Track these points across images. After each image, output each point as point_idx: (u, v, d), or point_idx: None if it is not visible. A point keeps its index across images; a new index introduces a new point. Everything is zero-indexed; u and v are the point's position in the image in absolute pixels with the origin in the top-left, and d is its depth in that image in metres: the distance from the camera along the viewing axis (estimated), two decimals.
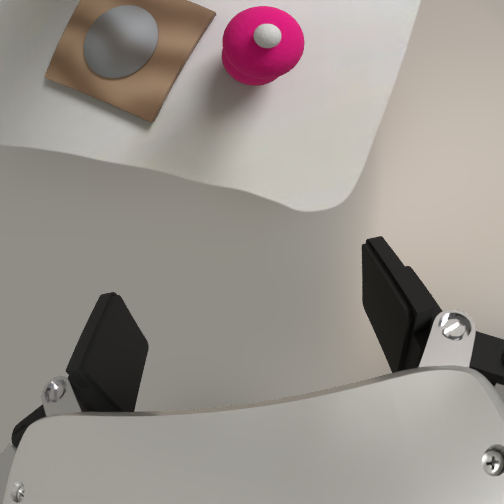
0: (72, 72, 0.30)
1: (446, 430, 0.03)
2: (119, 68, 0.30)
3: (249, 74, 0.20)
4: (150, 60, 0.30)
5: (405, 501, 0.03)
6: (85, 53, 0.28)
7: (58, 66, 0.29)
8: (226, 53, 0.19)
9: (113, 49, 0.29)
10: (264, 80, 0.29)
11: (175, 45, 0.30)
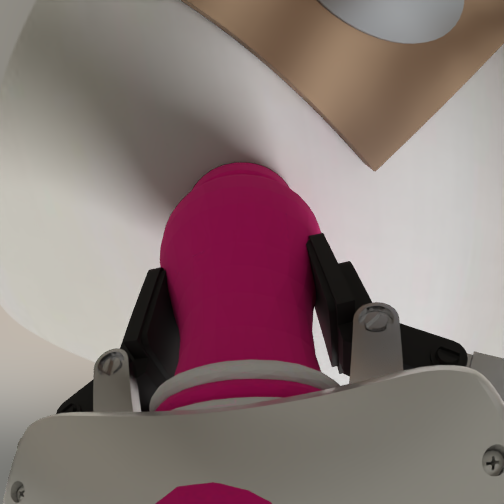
0: None
1: (446, 430, 0.03)
2: None
3: None
4: None
5: (405, 501, 0.03)
6: None
7: None
8: None
9: None
10: None
11: (325, 59, 0.12)
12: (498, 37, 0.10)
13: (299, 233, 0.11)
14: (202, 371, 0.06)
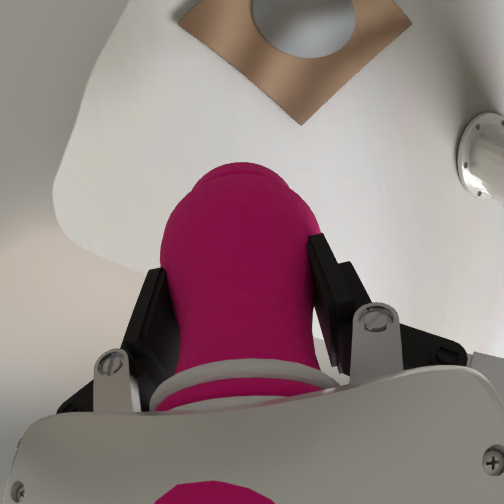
0: None
1: (446, 430, 0.03)
2: (266, 1, 0.22)
3: None
4: (261, 38, 0.24)
5: (405, 501, 0.03)
6: None
7: None
8: None
9: (296, 2, 0.22)
10: None
11: (271, 70, 0.26)
12: (382, 43, 0.24)
13: (298, 233, 0.11)
14: (202, 370, 0.06)
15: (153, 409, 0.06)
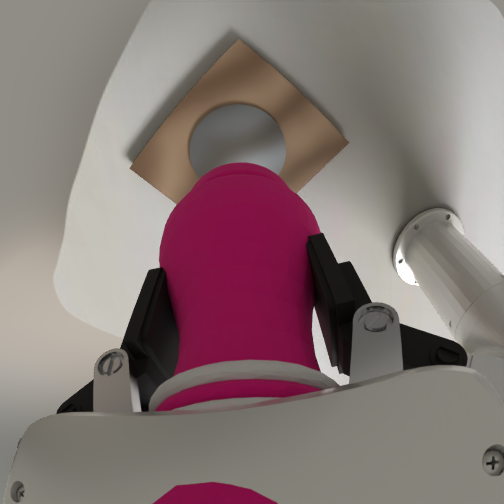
0: (224, 80, 0.27)
1: (446, 430, 0.03)
2: (201, 145, 0.30)
3: None
4: None
5: (405, 501, 0.03)
6: (240, 106, 0.29)
7: (243, 63, 0.27)
8: None
9: (229, 143, 0.30)
10: None
11: None
12: (313, 170, 0.33)
13: (298, 233, 0.11)
14: (201, 371, 0.06)
15: (152, 410, 0.06)
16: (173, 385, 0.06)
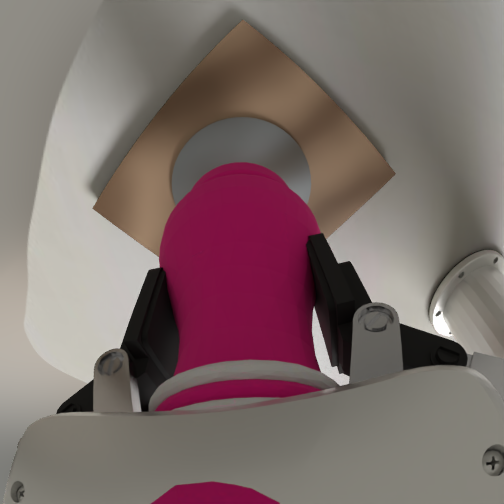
0: (221, 81, 0.18)
1: (446, 430, 0.03)
2: (188, 178, 0.21)
3: None
4: None
5: (405, 501, 0.03)
6: (245, 120, 0.19)
7: (249, 55, 0.17)
8: None
9: None
10: None
11: None
12: (346, 212, 0.24)
13: (298, 233, 0.11)
14: (201, 371, 0.06)
15: (152, 410, 0.06)
16: (173, 385, 0.06)
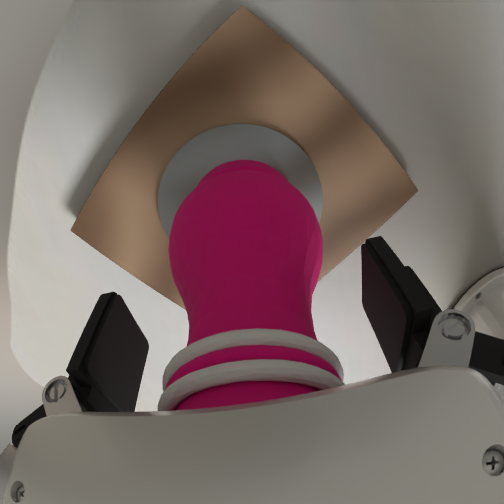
0: (215, 80, 0.15)
1: (446, 430, 0.03)
2: (177, 197, 0.18)
3: None
4: None
5: (405, 501, 0.03)
6: (245, 128, 0.16)
7: (250, 48, 0.14)
8: None
9: None
10: (173, 277, 0.13)
11: None
12: (362, 234, 0.20)
13: (298, 224, 0.12)
14: (213, 339, 0.07)
15: (166, 381, 0.07)
16: (187, 353, 0.07)
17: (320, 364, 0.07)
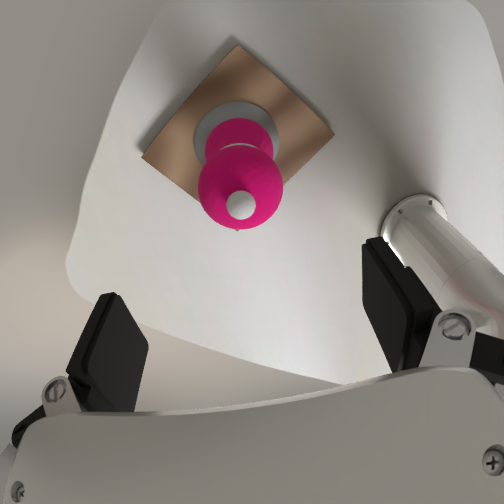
0: (225, 81, 0.32)
1: (446, 430, 0.03)
2: (205, 137, 0.35)
3: (204, 169, 0.20)
4: None
5: (405, 501, 0.03)
6: (239, 103, 0.33)
7: (241, 65, 0.31)
8: (233, 151, 0.20)
9: None
10: (207, 159, 0.30)
11: None
12: (303, 159, 0.37)
13: (259, 133, 0.28)
14: (228, 145, 0.23)
15: None
16: None
17: None
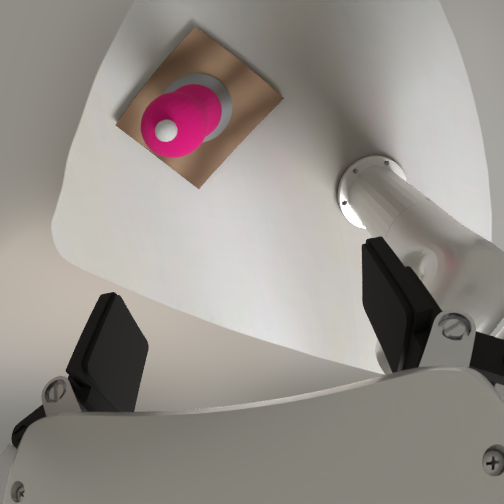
0: (185, 57, 0.35)
1: (446, 430, 0.03)
2: None
3: (144, 111, 0.23)
4: None
5: (405, 501, 0.03)
6: (196, 75, 0.36)
7: (198, 43, 0.34)
8: (165, 94, 0.23)
9: None
10: None
11: None
12: (255, 121, 0.40)
13: (205, 94, 0.32)
14: None
15: None
16: None
17: None
